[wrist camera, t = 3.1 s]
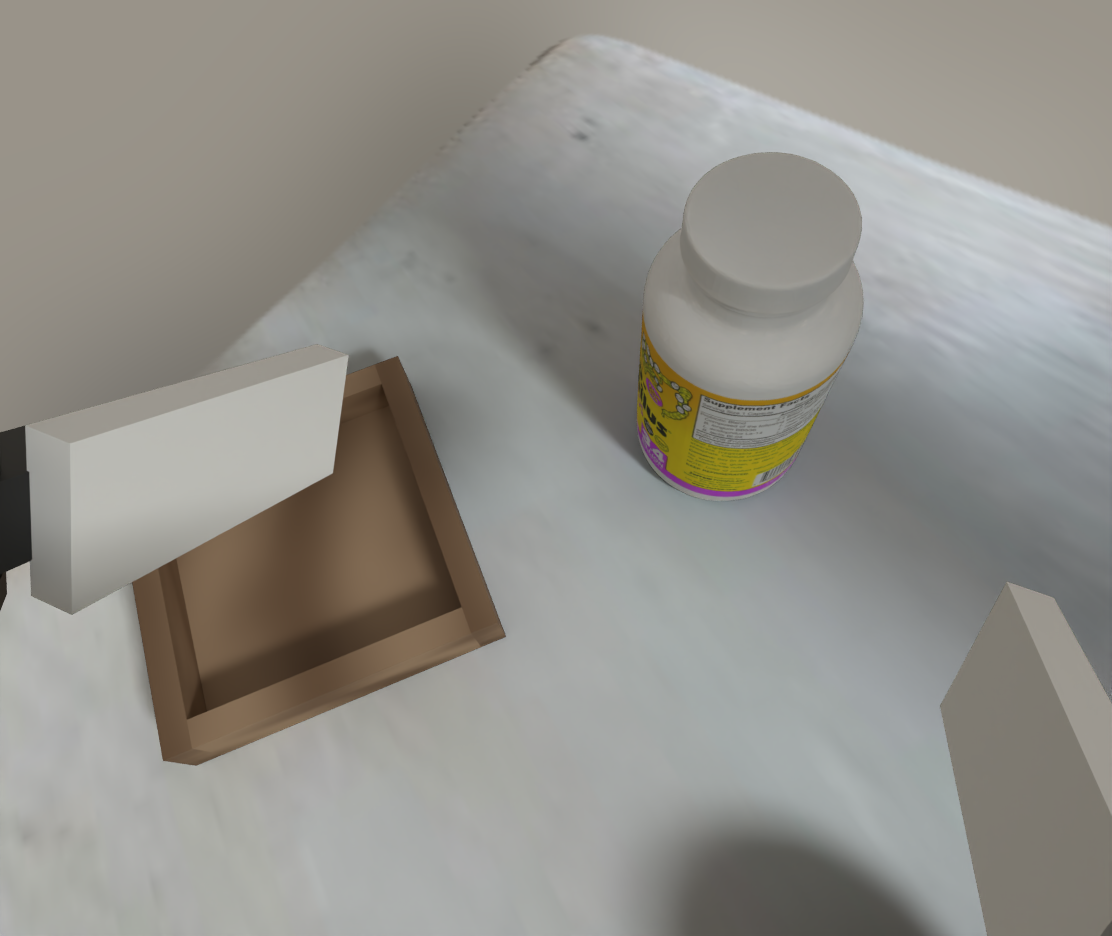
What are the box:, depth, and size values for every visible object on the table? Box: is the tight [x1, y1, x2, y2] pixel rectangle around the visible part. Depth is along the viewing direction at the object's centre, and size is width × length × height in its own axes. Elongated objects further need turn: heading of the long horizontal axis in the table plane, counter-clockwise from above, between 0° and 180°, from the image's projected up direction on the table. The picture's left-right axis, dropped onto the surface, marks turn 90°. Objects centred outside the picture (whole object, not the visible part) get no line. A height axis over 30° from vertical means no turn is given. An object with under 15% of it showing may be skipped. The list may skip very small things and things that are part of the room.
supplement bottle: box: [637, 152, 863, 501], centre depth 27 cm, size 7×7×13 cm
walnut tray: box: [132, 356, 506, 765], centre depth 30 cm, size 12×12×2 cm
